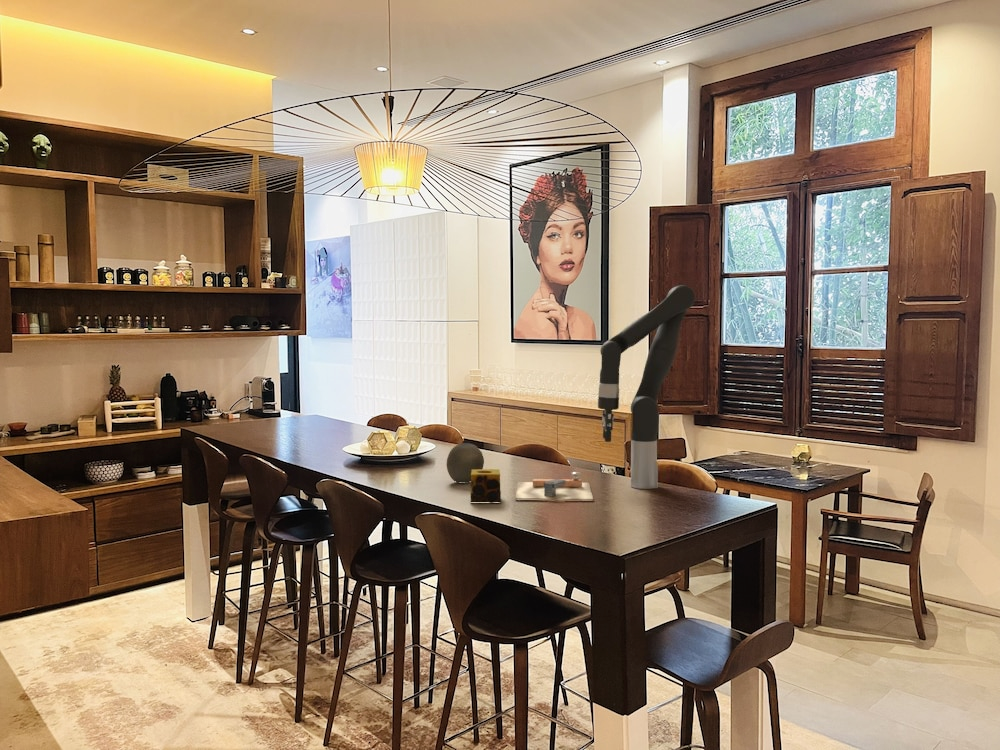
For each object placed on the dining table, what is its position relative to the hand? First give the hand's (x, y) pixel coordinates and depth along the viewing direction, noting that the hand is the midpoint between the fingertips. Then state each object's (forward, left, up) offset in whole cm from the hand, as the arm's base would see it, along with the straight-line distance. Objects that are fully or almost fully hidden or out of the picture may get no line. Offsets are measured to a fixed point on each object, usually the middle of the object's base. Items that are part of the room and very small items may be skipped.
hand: (606, 440), depth 280 cm
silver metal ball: (+12, +6, -14) cm, 19 cm away
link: (+18, +6, -16) cm, 25 cm away
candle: (+43, +26, -18) cm, 53 cm away
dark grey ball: (+53, -4, -17) cm, 55 cm away
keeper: (+19, +19, -16) cm, 32 cm away
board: (+20, +12, -17) cm, 29 cm away
